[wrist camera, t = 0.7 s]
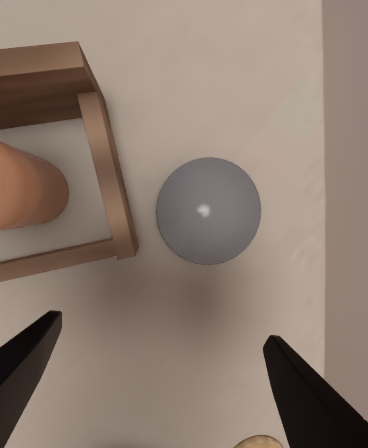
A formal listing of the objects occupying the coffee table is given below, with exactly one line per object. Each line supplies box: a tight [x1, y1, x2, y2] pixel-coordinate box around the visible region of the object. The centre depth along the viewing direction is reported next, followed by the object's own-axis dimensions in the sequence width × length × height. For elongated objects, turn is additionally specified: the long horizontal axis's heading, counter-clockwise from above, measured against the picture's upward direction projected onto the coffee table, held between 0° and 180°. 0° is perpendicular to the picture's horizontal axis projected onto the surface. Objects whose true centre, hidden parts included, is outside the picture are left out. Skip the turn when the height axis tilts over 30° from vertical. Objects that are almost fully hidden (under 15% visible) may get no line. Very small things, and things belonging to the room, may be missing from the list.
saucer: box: [157, 157, 261, 265], centre depth 22 cm, size 11×11×1 cm
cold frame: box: [0, 41, 138, 282], centre depth 17 cm, size 15×17×7 cm
